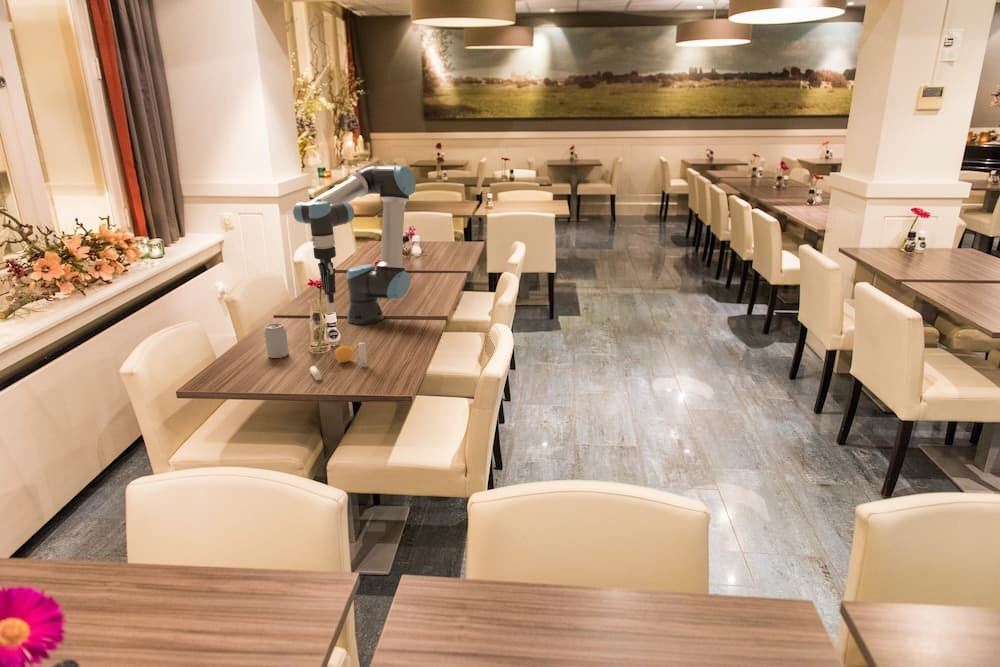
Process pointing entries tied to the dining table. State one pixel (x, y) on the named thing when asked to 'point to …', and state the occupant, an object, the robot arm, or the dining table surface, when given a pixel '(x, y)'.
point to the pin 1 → (315, 373)
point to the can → (276, 340)
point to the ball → (343, 354)
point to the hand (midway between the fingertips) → (331, 310)
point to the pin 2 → (362, 354)
